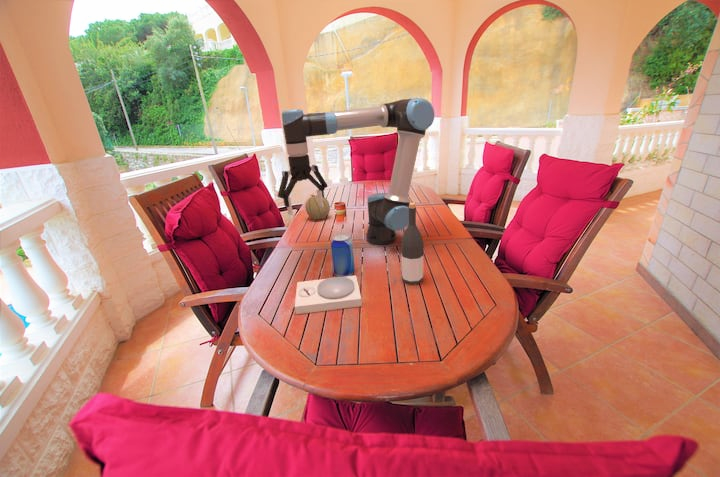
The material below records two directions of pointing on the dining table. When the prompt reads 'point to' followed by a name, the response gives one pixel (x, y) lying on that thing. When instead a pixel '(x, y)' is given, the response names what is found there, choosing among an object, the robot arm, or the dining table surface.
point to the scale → (327, 294)
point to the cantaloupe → (317, 208)
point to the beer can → (342, 255)
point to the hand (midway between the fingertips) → (306, 210)
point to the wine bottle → (412, 251)
